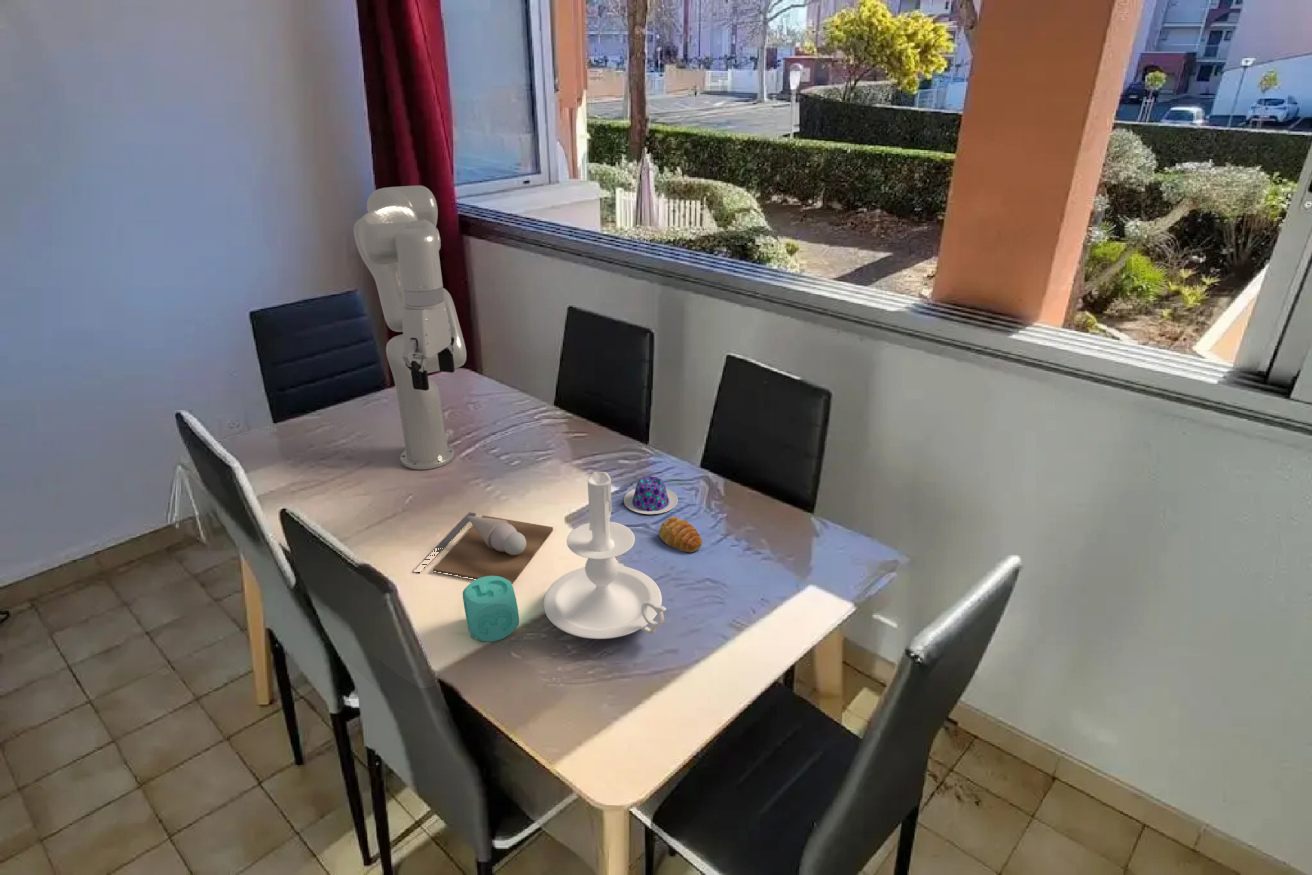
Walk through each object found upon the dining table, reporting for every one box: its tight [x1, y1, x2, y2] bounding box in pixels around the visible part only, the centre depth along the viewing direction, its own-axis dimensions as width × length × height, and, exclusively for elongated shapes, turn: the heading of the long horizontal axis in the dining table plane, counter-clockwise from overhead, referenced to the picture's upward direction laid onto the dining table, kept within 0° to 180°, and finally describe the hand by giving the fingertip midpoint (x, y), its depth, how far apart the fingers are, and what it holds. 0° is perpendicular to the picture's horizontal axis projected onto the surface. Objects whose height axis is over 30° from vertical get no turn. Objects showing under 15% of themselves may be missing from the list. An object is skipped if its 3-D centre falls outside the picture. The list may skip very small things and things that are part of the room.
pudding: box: [623, 475, 679, 515], centre depth 172 cm, size 12×12×5 cm
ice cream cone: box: [466, 515, 526, 555], centre depth 155 cm, size 6×6×15 cm
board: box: [432, 514, 554, 585], centre depth 156 cm, size 20×16×1 cm
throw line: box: [422, 512, 477, 565], centre depth 159 cm, size 22×2×1 cm, turn 164°
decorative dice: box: [462, 576, 520, 643], centre depth 134 cm, size 8×8×8 cm
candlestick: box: [543, 471, 667, 640], centre depth 131 cm, size 21×25×28 cm
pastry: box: [658, 516, 703, 553], centre depth 158 cm, size 9×7×4 cm
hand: (434, 380), depth 156 cm, fingers open, 9 cm apart
